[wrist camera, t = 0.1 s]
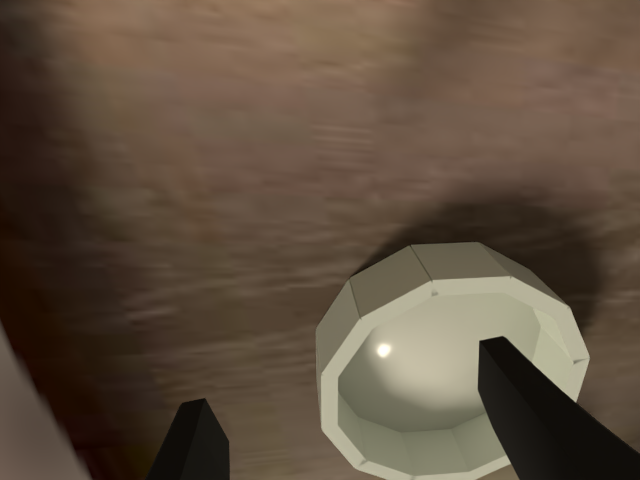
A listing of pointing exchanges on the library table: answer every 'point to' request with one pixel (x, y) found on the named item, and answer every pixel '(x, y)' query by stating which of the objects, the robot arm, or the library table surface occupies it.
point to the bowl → (433, 358)
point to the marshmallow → (501, 474)
